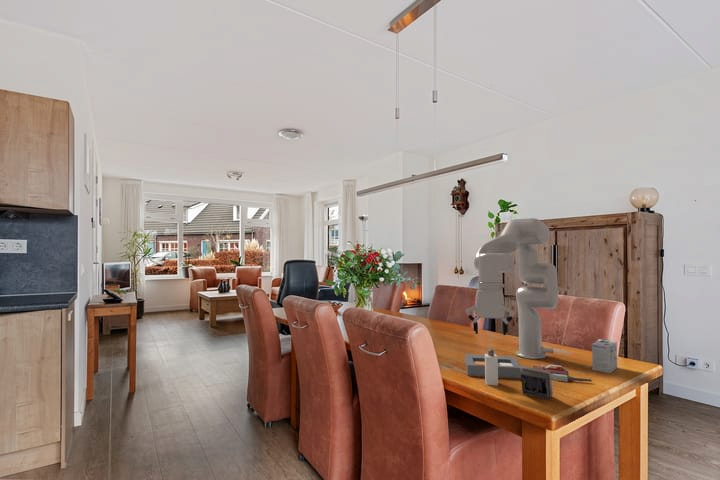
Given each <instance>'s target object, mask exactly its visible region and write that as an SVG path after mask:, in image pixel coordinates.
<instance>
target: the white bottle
mask: <svg viewBox="0 0 720 480" xmlns="http://www.w3.org/2000/svg"><path fill="white" fill-rule="evenodd" d="M484 355H485V377H484V382H485V384H486V385H487V386H499V377H498V357H497V356H498V355H497V354H496V353H495V350H494V349H488V350H487V353H484Z"/></svg>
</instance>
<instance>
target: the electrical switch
mask: <svg viewBox="0 0 720 480" xmlns="http://www.w3.org/2000/svg"><path fill="white" fill-rule="evenodd" d="M520 371H521V379H520V382H521V389H522V391H521V392H522V395H524V394H526V395H525V396H528V395H531V396H530V397H533V396H535V397H534V398H537V397H539V398H538V399H542V398H543V400H547V399H548V400H549V398H552V397H553V395H554V393H553V384H552V383H553V382H552V379H551V373H550V372H549V371H547V370H541V369H535V368H533V367H530V366H522V365H521V368H520Z"/></svg>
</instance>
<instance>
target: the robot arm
mask: <svg viewBox="0 0 720 480" xmlns="http://www.w3.org/2000/svg"><path fill="white" fill-rule="evenodd" d="M550 240H551V230H550V227H548V225H547V224H546V223H544V222H543V221H541V220H540V219H537V218H534V217H533V218H531V217H530V218H515V219H511V220H509V221H508V222H507V223H506V224H505V225H504V228H503V229H502V231H501V233H500V235H499V236H498V237H497V236H496V237H495V238H493V239H492V240H489V241H488V242H485V243H484V244H483V245H482V246H480V248H479V249H478V251H477V252H476V254H475V256H474V259H473V264H474V268H475V269H476V270H477V271H478V289H477V290H476V291H475V293H476V294H475V301H474V303H475V305H473V306H470V307H469V308H466V309H465V313H466V315H467V317H468V319H470V321H471V322H472V323H473V327H472V328H473V332H474V333H475V334H477V335H478V334H479V324H478V321H479V319H498V320H499V319H501V320H502V325H501V327H502V328H501V329H502V335H503V336H506V335H507V333H508V324H509V323H510V322H511V321H513V319H514V317H515V314H516V312H515V310H512V309H510V307H506V306H505V298H504V297H505V296H504V293H503V290H502V289H503V288H505V287H506V286H505V285H506V284H505V283H502V282H501V273H509V272H510V271H512V270H513V268H514V264H515V262H514V258H513V256H512V255H511V254H510V253H513V252H515V251H517V260H518V261H517V262H518V277H519V280H520V282H522V283H524V284H530V286H529V285H526V286H521V287H518V288H517V289H516V290H515V301H516V305H517V311H518V315H517V316H518V349H516V351H515V355H516V356H518V357H521V358H523V359H530V360H541V359H545V358H546V354H547V353H549V354H554V351H555V350H554V348H549V347H544V346H543V343H542V342H543V341H542V318H541V315H540V313H539V312H538V310H537V309H548V310H552V309H556V308H557V307H558V304H559V287H558V286H559V283H558V271H557V268H556V266H555V265H554V264H552V263H549V262H540V261H539V251H538V250H537V248H536V247H535V246H534V245H545V244H547V243H548V242H549V241H550ZM531 284H533V285H534V284H535V285H544V286H533V285H532V286H531ZM473 311H474V313H475V315H474V316H473V315H472V314H471V312H473ZM506 312H507V313H509V315H508V316H507V317H506Z"/></svg>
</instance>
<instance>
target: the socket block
mask: <svg viewBox="0 0 720 480" xmlns="http://www.w3.org/2000/svg"><path fill="white" fill-rule="evenodd" d="M497 357H498V378H503V379H517V380H518V379H520V380H521V371H520V368H521V367H522V365H521V364H520V362H519V361H518V360H517V358H516V356H513V355H512V356H511V355H497ZM464 365H465V369H466V374H467V376H469V377H484V378H485V354H473V353H472V354H471V353H465V354H464Z"/></svg>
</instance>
